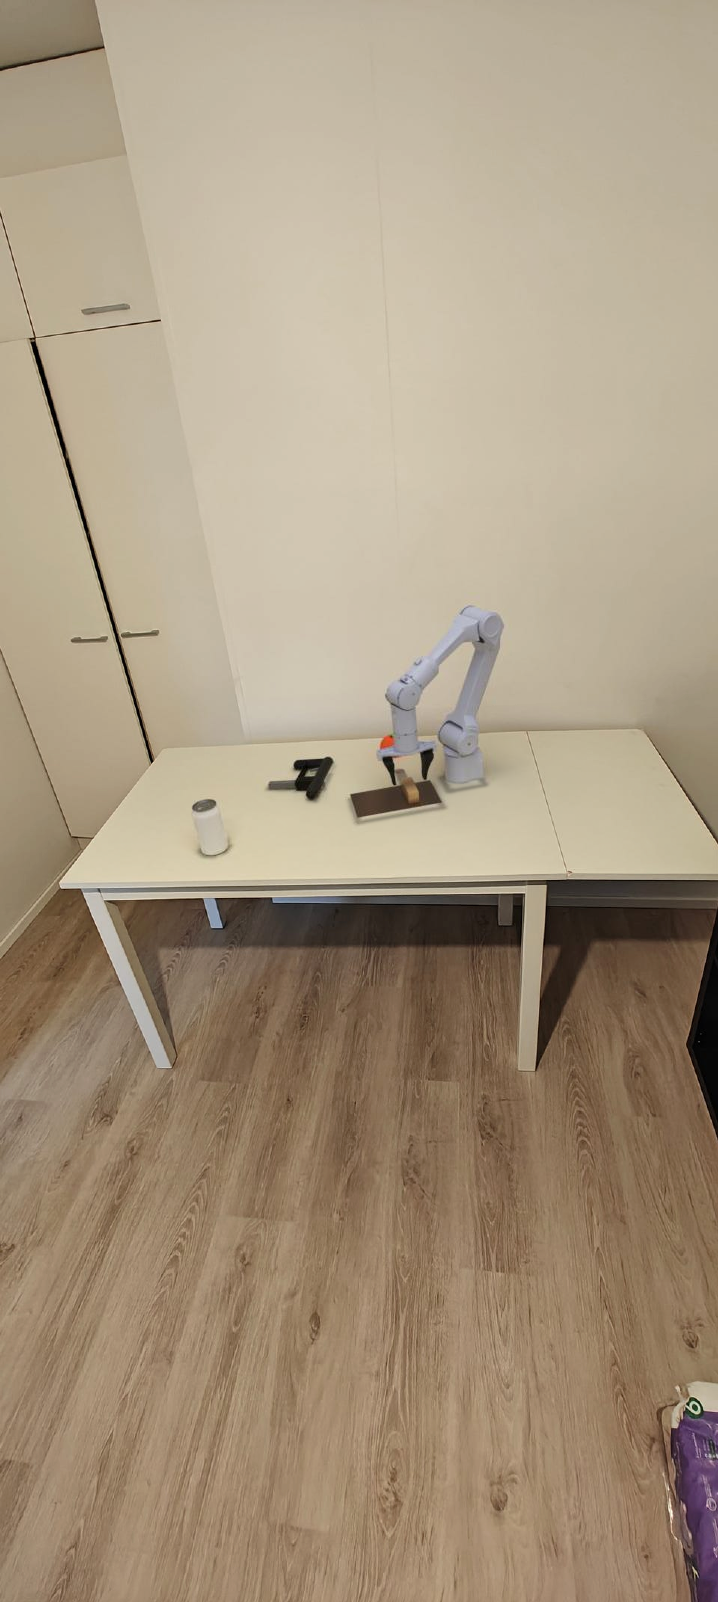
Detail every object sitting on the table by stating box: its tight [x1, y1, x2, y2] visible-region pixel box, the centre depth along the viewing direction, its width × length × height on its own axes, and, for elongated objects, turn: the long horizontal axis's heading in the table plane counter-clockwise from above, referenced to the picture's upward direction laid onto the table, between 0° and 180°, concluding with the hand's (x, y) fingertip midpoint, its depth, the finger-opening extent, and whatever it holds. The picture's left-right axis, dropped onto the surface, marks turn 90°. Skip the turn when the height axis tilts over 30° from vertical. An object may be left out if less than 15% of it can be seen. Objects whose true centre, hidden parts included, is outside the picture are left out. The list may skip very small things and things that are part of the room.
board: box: [349, 779, 443, 819], centre depth 177 cm, size 21×12×2 cm, turn 99°
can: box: [191, 798, 229, 857], centre depth 165 cm, size 6×6×12 cm
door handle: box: [267, 756, 336, 800], centre depth 192 cm, size 3×20×16 cm
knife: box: [395, 768, 419, 804], centre depth 180 cm, size 18×3×3 cm, turn 9°
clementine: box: [379, 733, 400, 759], centre depth 197 cm, size 8×7×7 cm
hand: (409, 780), depth 175 cm, fingers open, 7 cm apart
